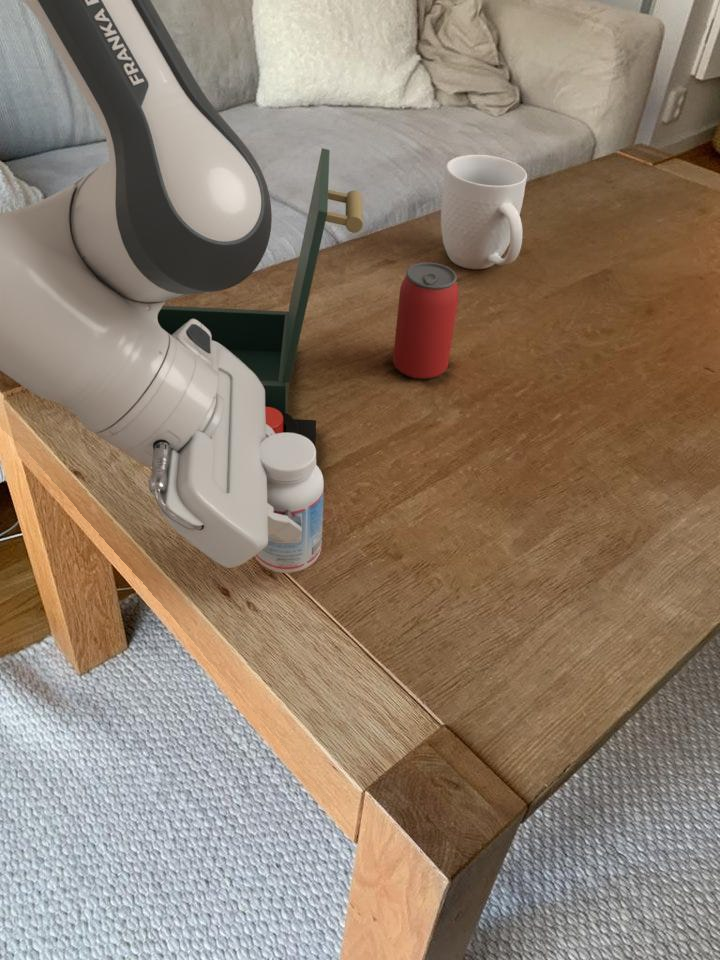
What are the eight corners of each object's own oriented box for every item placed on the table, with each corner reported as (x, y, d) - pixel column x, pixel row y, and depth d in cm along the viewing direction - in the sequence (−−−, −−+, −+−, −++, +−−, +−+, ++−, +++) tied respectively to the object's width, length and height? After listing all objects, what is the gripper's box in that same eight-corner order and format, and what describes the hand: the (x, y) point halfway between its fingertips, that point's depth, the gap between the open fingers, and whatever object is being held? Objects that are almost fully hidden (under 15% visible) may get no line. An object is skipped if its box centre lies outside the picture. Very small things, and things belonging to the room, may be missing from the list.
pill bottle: (293, 515, 74) (294, 416, 67) (335, 555, 71) (341, 456, 63) (236, 544, 71) (232, 444, 64) (278, 587, 68) (278, 486, 60)
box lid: (318, 210, 70) (370, 222, 71) (321, 147, 81) (366, 158, 82) (281, 381, 82) (326, 390, 83) (288, 307, 93) (328, 315, 94)
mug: (541, 282, 114) (562, 191, 106) (475, 296, 110) (491, 203, 102) (482, 237, 124) (497, 150, 115) (419, 248, 120) (430, 159, 111)
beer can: (386, 375, 95) (396, 282, 87) (398, 346, 100) (408, 255, 92) (442, 386, 94) (456, 293, 86) (451, 356, 99) (465, 265, 91)
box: (117, 424, 86) (109, 378, 82) (142, 347, 96) (136, 304, 93) (285, 430, 87) (285, 386, 83) (292, 354, 97) (292, 311, 94)
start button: (244, 442, 79) (244, 428, 78) (248, 419, 82) (247, 405, 81) (282, 443, 79) (282, 429, 78) (284, 420, 82) (284, 407, 81)
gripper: (180, 475, 51) (331, 576, 58) (197, 306, 66) (314, 404, 73) (116, 527, 53) (269, 618, 61) (146, 353, 68) (265, 443, 76)
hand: (294, 499), depth 67 cm, fingers closed on pill bottle, 6 cm apart
